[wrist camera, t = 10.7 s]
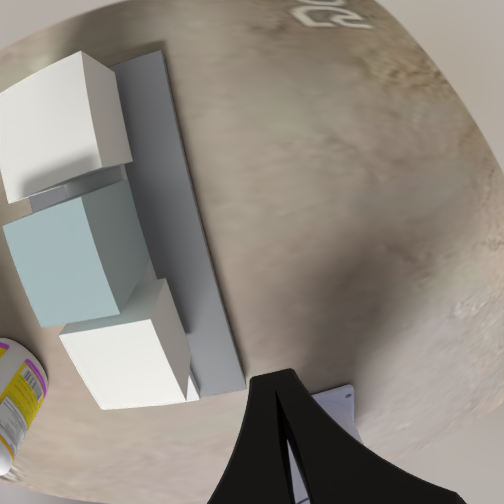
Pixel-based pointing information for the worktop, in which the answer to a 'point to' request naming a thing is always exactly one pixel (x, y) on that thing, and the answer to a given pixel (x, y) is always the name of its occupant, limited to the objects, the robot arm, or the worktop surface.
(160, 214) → the board
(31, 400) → the supplement bottle
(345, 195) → the worktop surface
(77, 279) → the block
